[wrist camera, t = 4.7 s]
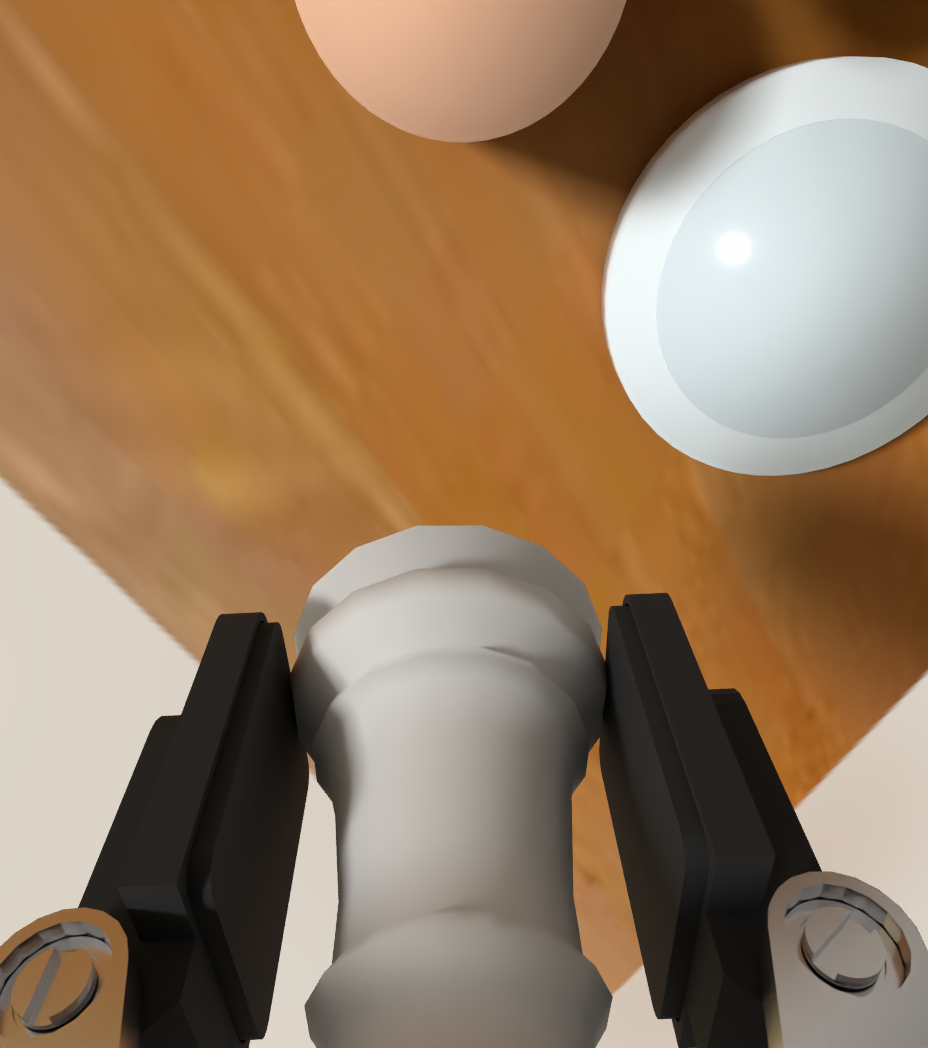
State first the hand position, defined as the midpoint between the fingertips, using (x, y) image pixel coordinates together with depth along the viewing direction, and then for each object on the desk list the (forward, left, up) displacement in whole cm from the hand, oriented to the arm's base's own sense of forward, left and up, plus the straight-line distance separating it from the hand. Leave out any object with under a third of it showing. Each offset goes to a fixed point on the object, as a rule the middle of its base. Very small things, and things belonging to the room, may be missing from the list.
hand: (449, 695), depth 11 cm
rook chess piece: (0, 0, -2) cm, 2 cm away
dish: (-2, +10, -15) cm, 18 cm away
